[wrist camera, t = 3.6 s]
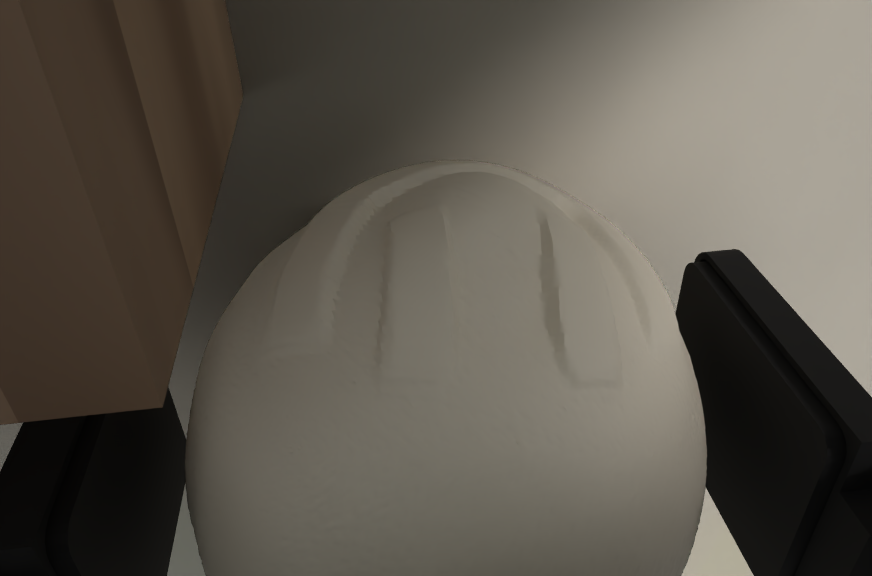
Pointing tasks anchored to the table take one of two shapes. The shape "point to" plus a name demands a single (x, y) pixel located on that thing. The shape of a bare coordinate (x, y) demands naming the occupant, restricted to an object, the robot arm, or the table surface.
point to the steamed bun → (448, 393)
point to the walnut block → (105, 194)
